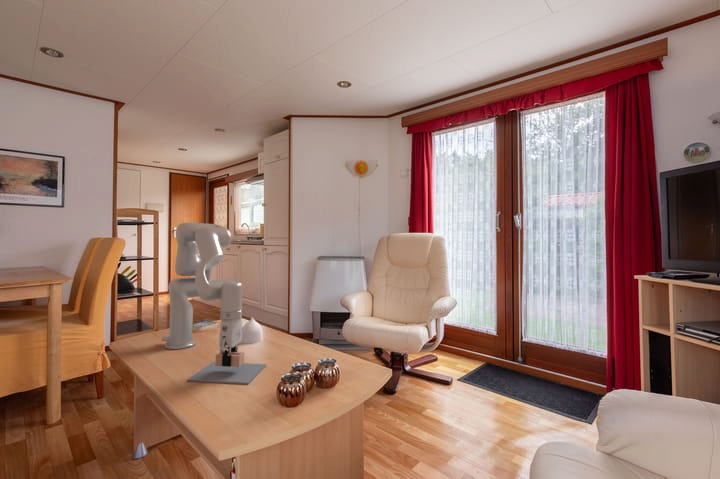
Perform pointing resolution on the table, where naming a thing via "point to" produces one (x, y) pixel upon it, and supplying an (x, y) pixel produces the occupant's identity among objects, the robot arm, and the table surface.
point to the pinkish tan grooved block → (236, 359)
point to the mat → (228, 374)
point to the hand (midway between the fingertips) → (229, 363)
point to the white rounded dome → (252, 332)
